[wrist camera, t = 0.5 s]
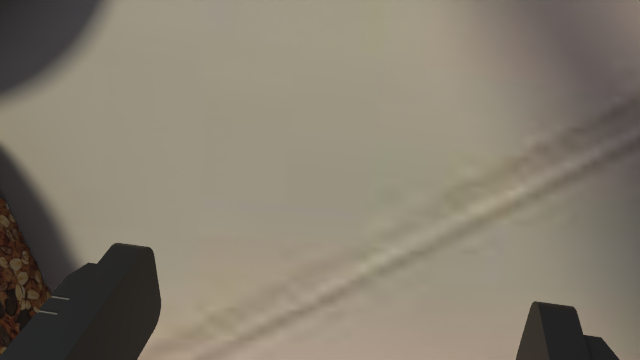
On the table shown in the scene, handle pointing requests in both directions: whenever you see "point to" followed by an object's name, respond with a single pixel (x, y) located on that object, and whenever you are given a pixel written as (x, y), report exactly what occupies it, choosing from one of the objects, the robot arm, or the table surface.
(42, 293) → the bread
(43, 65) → the table surface
